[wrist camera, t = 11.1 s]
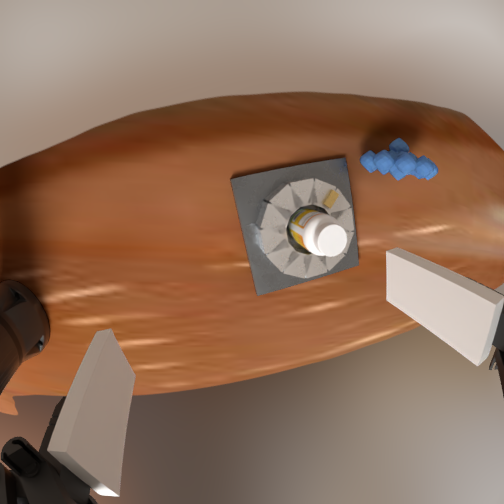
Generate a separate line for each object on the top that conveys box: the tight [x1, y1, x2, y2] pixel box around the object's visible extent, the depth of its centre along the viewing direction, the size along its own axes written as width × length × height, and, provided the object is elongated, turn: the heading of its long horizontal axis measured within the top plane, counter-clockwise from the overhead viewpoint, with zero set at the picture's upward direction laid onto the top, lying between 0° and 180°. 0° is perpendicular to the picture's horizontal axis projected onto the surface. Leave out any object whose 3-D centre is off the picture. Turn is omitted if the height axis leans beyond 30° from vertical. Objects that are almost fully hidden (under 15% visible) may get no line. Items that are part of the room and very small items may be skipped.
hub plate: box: [230, 158, 359, 296], centre depth 40 cm, size 18×18×5 cm
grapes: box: [360, 138, 438, 180], centre depth 36 cm, size 12×7×12 cm, turn 88°
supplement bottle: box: [289, 209, 347, 257], centre depth 36 cm, size 5×5×10 cm
